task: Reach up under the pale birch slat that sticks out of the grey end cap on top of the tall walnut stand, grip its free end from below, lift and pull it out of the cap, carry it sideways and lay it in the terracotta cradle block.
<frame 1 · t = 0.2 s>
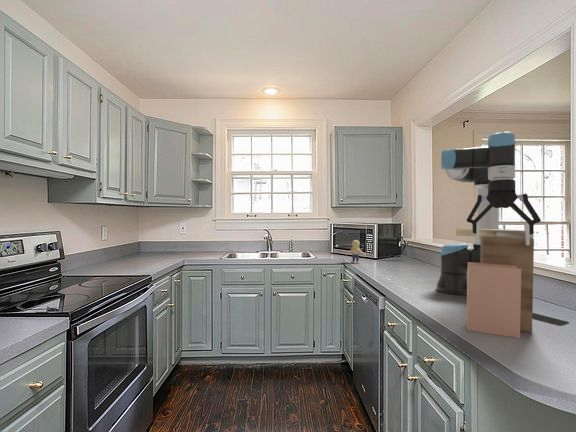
hand: (501, 244, 106), 28 cm above the countertop, tool pointing down, fingers open, 13 cm apart
stand: (503, 324, 110), on the countertop
slat: (489, 236, 112), point 30 cm above the countertop, touching stand
smartphone: (540, 319, 117), on the countertop
toy: (355, 263, 243), on the countertop
cradle: (491, 330, 104), on the countertop
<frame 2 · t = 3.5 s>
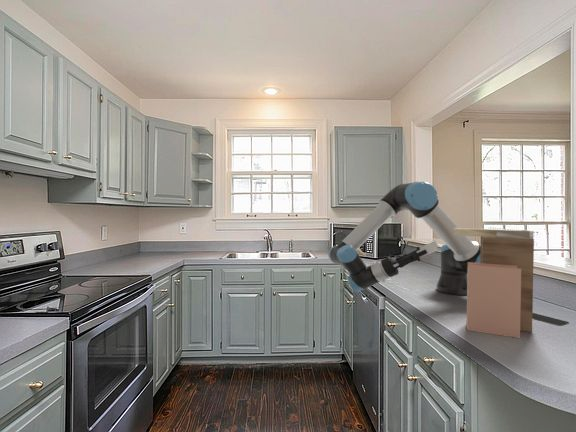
hand: (436, 245, 120), 26 cm above the countertop, tool pointing upward, fingers open, 13 cm apart
slat: (486, 236, 114), point 30 cm above the countertop, touching stand
everything else where it was.
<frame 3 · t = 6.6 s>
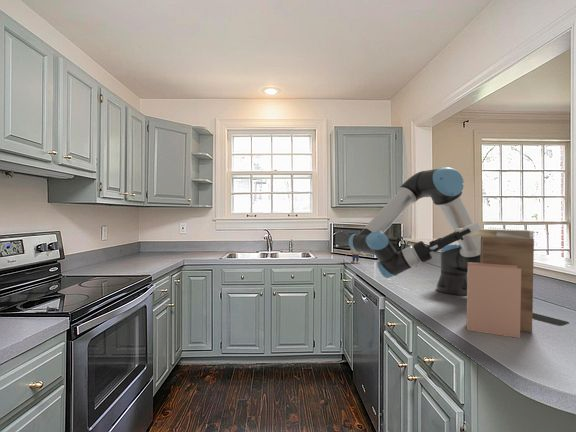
hand: (478, 225, 114), 34 cm above the countertop, tool pointing upward, fingers open, 6 cm apart
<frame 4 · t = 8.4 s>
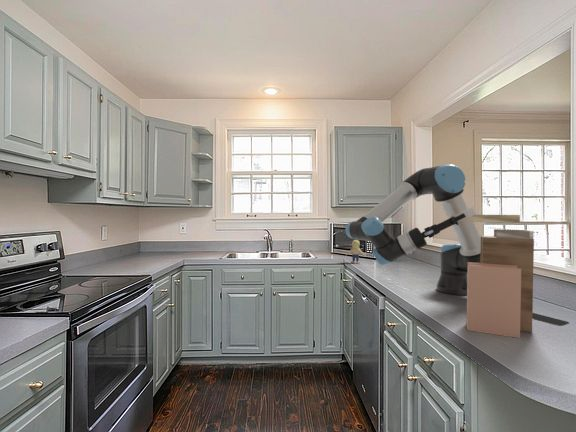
hand: (473, 210, 114), 39 cm above the countertop, tool pointing upward, fingers closed on slat, 4 cm apart
slat: (483, 221, 113), point 35 cm above the countertop, touching gripper
everything else where it was.
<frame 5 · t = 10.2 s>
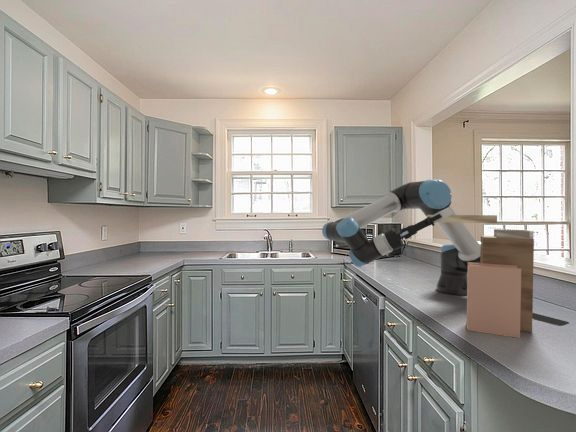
hand: (450, 210, 109), 39 cm above the countertop, tool pointing upward, fingers closed on slat, 4 cm apart
slat: (460, 222, 108), point 35 cm above the countertop, touching gripper
everything else where it was.
when the fingers open (25 cm above the countertop, at t = 13.5 s): slat drops 2 cm, resting on cradle.
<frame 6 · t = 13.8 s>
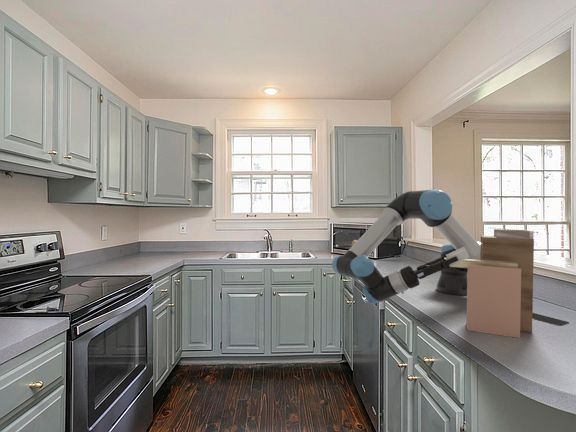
hand: (466, 251, 107), 25 cm above the countertop, tool pointing upward, fingers open, 8 cm apart
slat: (478, 268, 106), point 20 cm above the countertop, touching cradle
everything else where it was.
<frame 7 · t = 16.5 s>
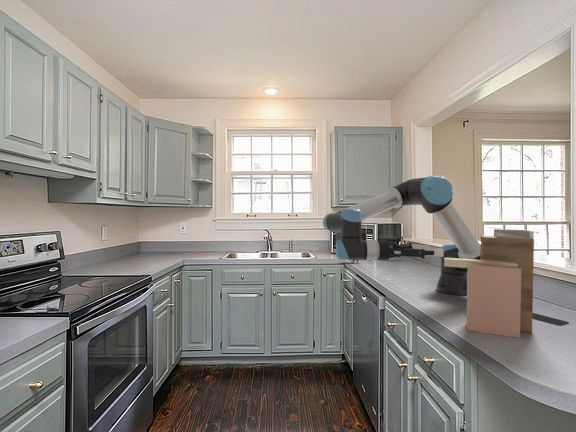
hand: (436, 250, 119), 24 cm above the countertop, tool horizontal, fingers open, 13 cm apart
nothing on the countertop moved.
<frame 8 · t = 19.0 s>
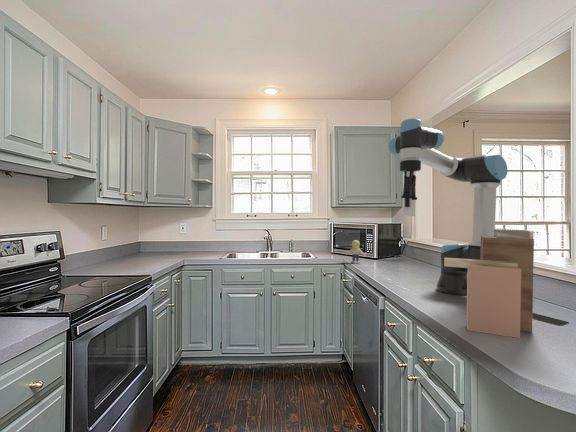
hand: (409, 216, 123), 37 cm above the countertop, tool pointing down, fingers open, 13 cm apart
nothing on the countertop moved.
at the end: slat inside the target area (0.4 cm from its centre), point 20.0 cm above the countertop; slat tilted 0°; the gripper is holding nothing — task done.
